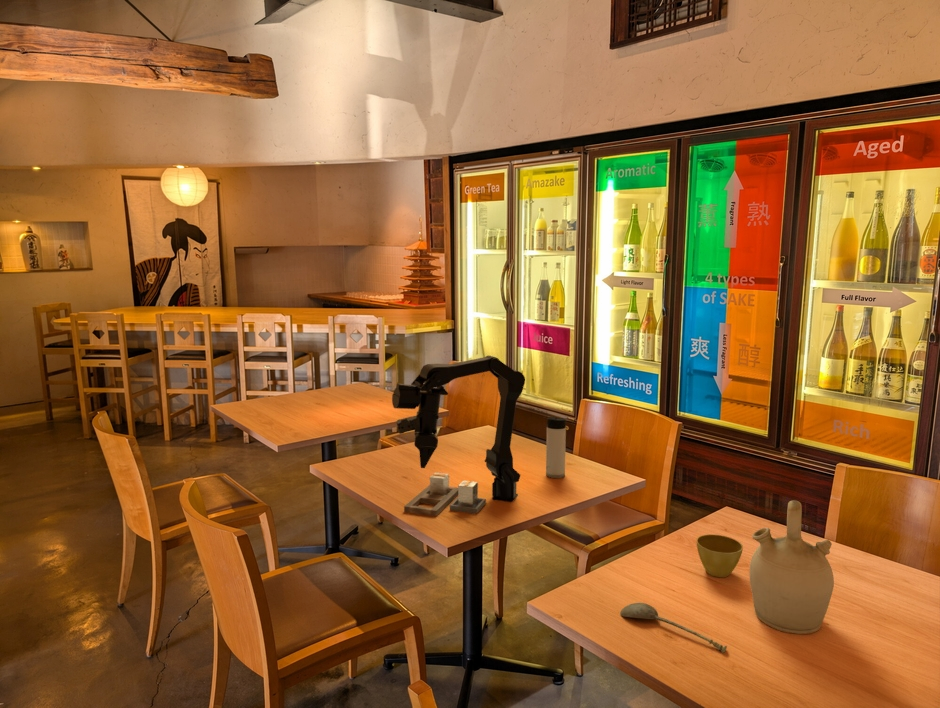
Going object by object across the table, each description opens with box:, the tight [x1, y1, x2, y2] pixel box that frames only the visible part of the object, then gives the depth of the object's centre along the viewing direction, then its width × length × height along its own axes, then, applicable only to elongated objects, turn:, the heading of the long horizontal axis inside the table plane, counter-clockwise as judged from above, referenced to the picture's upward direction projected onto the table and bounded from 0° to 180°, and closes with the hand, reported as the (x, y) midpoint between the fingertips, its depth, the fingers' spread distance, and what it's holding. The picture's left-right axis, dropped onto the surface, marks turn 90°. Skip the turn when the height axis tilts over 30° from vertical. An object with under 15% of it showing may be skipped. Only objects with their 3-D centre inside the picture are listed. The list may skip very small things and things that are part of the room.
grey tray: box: [449, 497, 487, 515], centre depth 191 cm, size 8×8×2 cm
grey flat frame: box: [403, 484, 458, 517], centre depth 194 cm, size 10×19×2 cm, turn 160°
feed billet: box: [457, 480, 479, 508], centre depth 190 cm, size 4×4×7 cm
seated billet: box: [429, 472, 450, 496], centre depth 199 cm, size 4×4×7 cm
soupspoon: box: [619, 602, 728, 654], centre depth 129 cm, size 22×3×7 cm
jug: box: [749, 499, 835, 635], centre depth 131 cm, size 15×16×25 cm
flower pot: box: [696, 534, 744, 578], centre depth 152 cm, size 10×10×7 cm
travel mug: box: [545, 416, 567, 479], centre depth 217 cm, size 6×7×20 cm
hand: (422, 463), depth 185 cm, fingers open, 9 cm apart
